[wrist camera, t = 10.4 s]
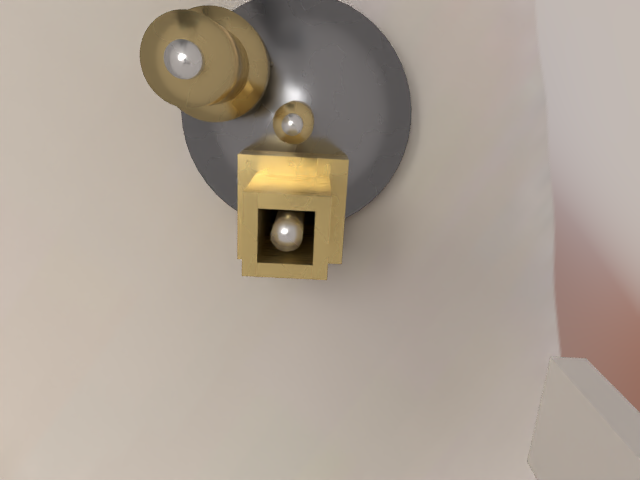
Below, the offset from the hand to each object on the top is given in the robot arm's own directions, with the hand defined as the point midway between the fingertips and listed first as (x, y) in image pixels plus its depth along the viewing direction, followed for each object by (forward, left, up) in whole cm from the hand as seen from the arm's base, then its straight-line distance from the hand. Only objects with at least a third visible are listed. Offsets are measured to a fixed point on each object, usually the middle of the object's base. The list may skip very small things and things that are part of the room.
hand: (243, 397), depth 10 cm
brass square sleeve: (0, 0, -19) cm, 19 cm away
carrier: (-5, 0, -21) cm, 21 cm away
